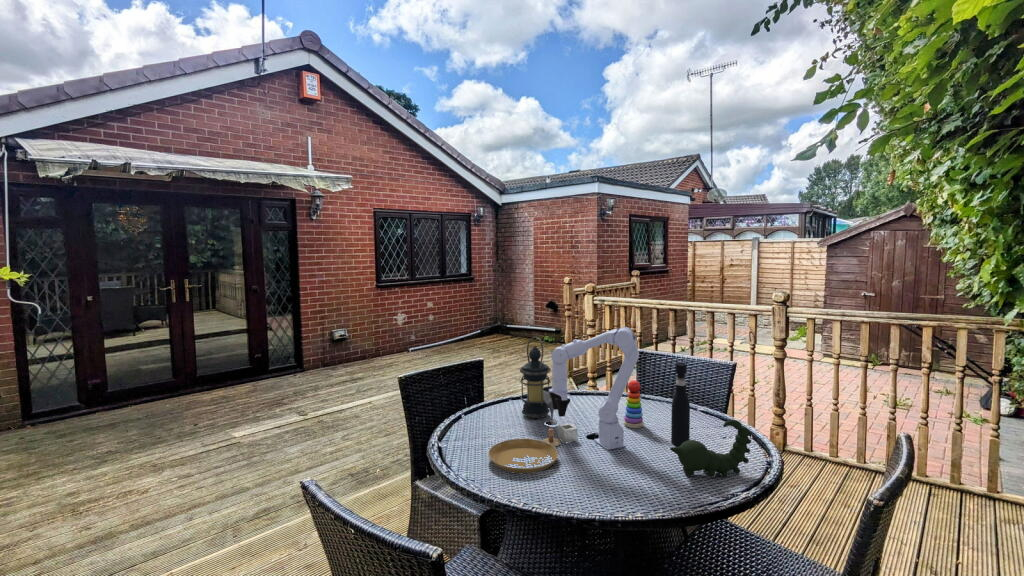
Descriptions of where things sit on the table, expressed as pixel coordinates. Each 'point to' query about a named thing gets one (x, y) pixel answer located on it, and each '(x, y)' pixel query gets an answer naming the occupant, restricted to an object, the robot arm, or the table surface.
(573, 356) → the robot arm
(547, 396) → the wine glass
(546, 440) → the post stand
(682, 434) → the wine bottle
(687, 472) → the toy figurine
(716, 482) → the table surface
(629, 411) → the stacking toy
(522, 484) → the table surface
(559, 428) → the collar
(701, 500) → the table surface
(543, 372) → the lantern
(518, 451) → the plant saucer
